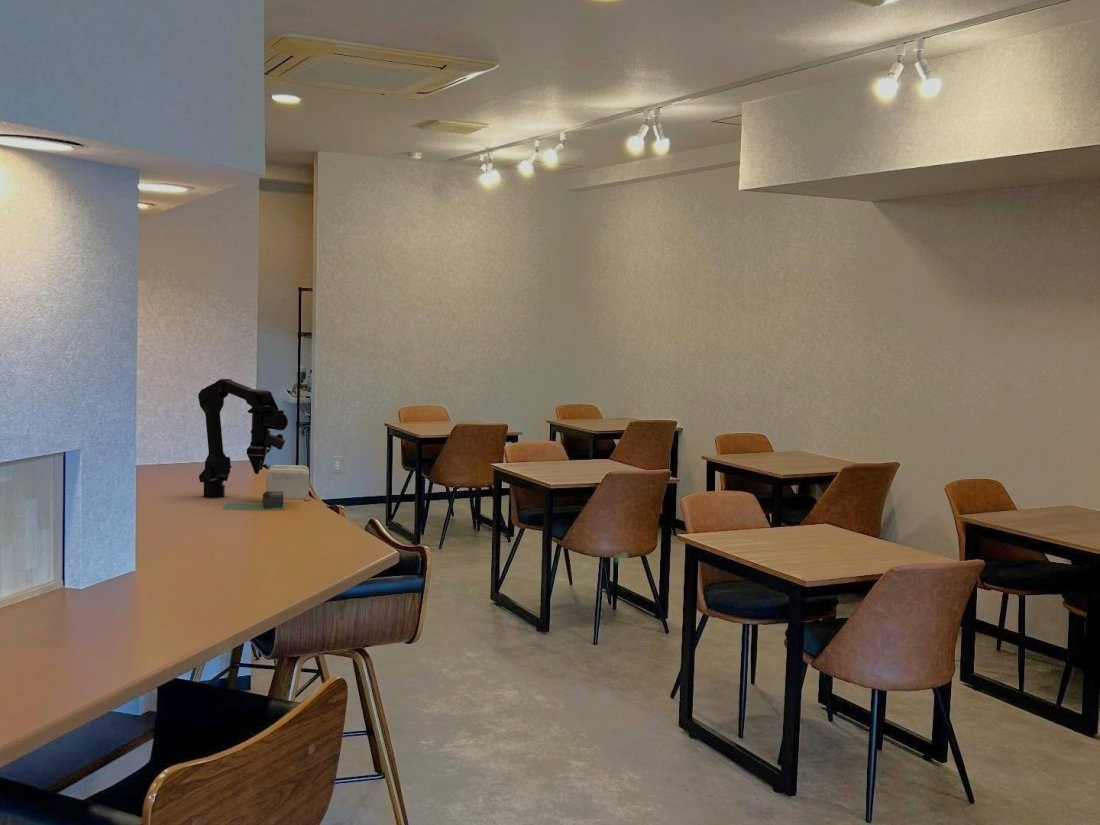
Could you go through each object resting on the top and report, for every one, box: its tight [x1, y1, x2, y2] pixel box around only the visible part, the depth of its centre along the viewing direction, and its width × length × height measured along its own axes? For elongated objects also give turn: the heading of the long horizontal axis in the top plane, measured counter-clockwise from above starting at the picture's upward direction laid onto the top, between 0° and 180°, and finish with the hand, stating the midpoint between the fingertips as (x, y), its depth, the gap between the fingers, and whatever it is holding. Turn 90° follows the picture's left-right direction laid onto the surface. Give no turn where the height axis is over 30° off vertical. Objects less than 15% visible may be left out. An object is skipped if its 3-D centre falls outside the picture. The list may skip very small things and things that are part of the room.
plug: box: [262, 491, 284, 508], centre depth 351 cm, size 6×7×4 cm
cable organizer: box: [265, 464, 310, 500], centre depth 372 cm, size 15×11×12 cm
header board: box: [221, 501, 288, 511], centre depth 350 cm, size 20×14×4 cm
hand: (258, 472), depth 354 cm, fingers open, 9 cm apart
